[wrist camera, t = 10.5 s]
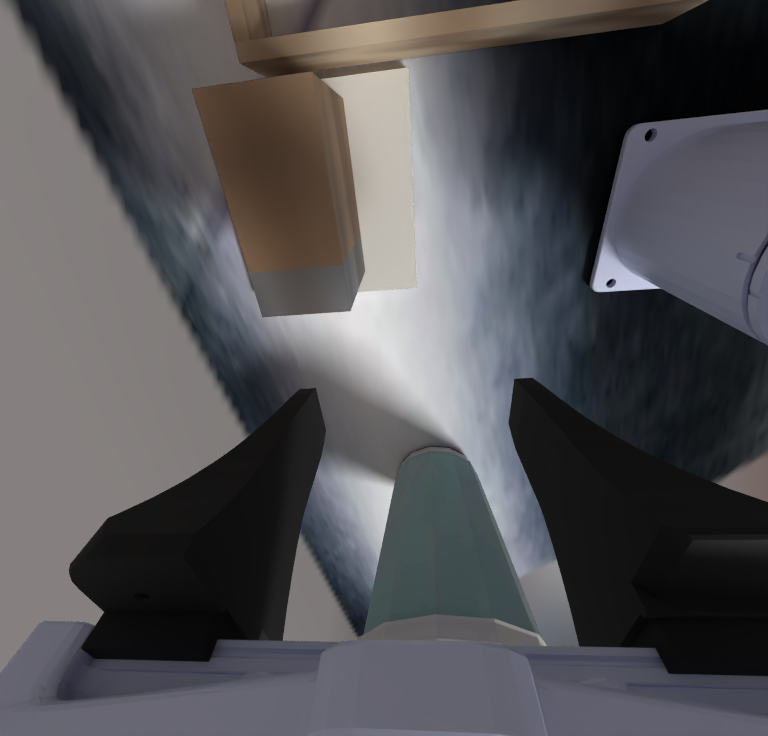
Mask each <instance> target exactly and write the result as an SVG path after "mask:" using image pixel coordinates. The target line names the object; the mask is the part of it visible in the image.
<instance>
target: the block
mask: <svg viewBox="0 0 768 736" xmlns="http://www.w3.org/2000/svg"><path fill="white" fill-rule="evenodd" d="M192 92H193V95H194V98H195V102H196V105H197V108H198V111H199V114H200V118H201V121H202V124H203V127H204V130H205V134H206V137H207V140H208V143H209V147H210V150H211V153H212V156H213V159H214V163H215V166H216V169H217V172H218V176H219V179H220V182H221V185H222V188H223V192H224V195H225V198H226V201H227V204H228V208H229V211H230V214H231V217H232V221H233V224H234V227H235V230H236V233H237V237H238V240H239V243H240V246H241V249H242V253H243V256H244V259H245V262H246V266H247V269H248V272H249V275H250V278H251V282H252V285H253V288H254V291H255V295H256V298H257V301H258V304H259V307H260V311H261V314H262V317H272V316H287V315H301V314H316V313H330V312H345V311H350V310H351V308H352V305H353V302H354V300H355V297H356V294H357V292H358V289H359V286H360V284H361V281H362V278H363V276H364V273H365V265H364V257H363V249H362V242H361V234H360V226H359V218H358V210H357V203H356V195H355V187H354V179H353V171H352V164H351V156H350V148H349V140H348V132H347V125H346V117H345V109H344V101H343V98H342V97H341V96H340V95H339V94H337V93H336V92H335V91H334V90H333V89H332V88H330V87H329V86H328V85H327V84H326V83H324V82H323V81H322V80H321V79H320V78H319V77H317V76H316V75H315V74H314V73H313V72H312V71H311V72H304V73H297V74H290V75H284V76H277V77H270V78H263V79H256V80H250V81H243V82H236V83H229V84H222V85H216V86H209V87H202V88H195V89H192Z"/></svg>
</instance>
